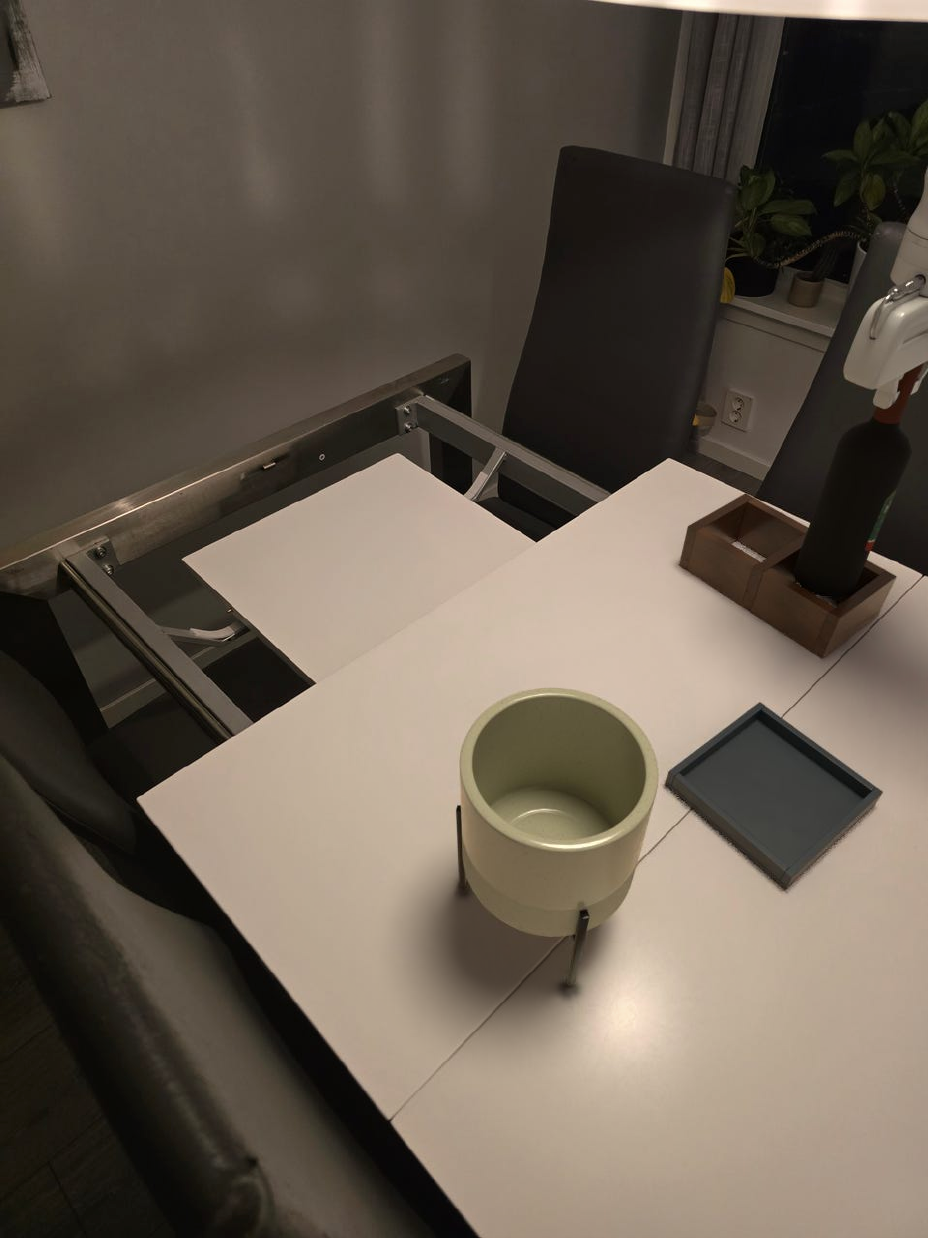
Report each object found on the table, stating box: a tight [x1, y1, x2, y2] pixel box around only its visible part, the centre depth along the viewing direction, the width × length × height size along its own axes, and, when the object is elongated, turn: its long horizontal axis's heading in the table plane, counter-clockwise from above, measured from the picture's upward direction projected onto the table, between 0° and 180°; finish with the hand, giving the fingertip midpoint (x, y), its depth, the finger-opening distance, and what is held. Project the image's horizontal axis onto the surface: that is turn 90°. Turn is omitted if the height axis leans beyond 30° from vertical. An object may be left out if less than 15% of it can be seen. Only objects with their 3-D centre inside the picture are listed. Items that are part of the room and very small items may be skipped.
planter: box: [455, 687, 660, 988], centre depth 68 cm, size 15×16×23 cm
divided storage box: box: [678, 492, 898, 659], centre depth 106 cm, size 24×12×7 cm, turn 38°
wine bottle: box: [794, 363, 924, 598], centre depth 90 cm, size 8×8×30 cm
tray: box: [664, 701, 884, 890], centre depth 84 cm, size 16×16×2 cm
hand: (894, 398), depth 83 cm, fingers closed on wine bottle, 3 cm apart
